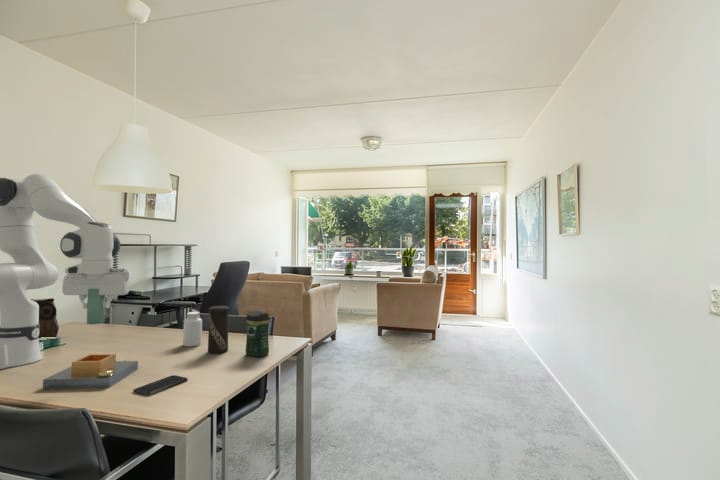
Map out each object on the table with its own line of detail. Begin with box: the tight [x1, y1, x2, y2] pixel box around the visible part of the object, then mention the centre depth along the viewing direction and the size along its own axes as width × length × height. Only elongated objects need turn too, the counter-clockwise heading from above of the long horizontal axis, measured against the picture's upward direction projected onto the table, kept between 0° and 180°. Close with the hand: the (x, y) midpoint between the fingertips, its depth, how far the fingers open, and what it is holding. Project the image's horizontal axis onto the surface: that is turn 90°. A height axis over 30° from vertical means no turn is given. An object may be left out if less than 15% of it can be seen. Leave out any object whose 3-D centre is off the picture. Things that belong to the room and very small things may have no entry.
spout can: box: [86, 289, 106, 325], centre depth 126 cm, size 5×5×15 cm
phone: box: [132, 374, 189, 397], centre depth 119 cm, size 8×1×15 cm
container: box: [207, 305, 230, 355], centre depth 159 cm, size 9×9×20 cm
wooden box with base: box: [42, 353, 139, 390], centre depth 125 cm, size 20×18×7 cm
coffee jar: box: [245, 310, 270, 358], centre depth 155 cm, size 10×8×19 cm
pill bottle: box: [182, 311, 203, 347], centre depth 170 cm, size 8×8×15 cm
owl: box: [29, 297, 60, 338], centre depth 177 cm, size 13×13×20 cm
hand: (96, 308), depth 126 cm, fingers closed on spout can, 5 cm apart
